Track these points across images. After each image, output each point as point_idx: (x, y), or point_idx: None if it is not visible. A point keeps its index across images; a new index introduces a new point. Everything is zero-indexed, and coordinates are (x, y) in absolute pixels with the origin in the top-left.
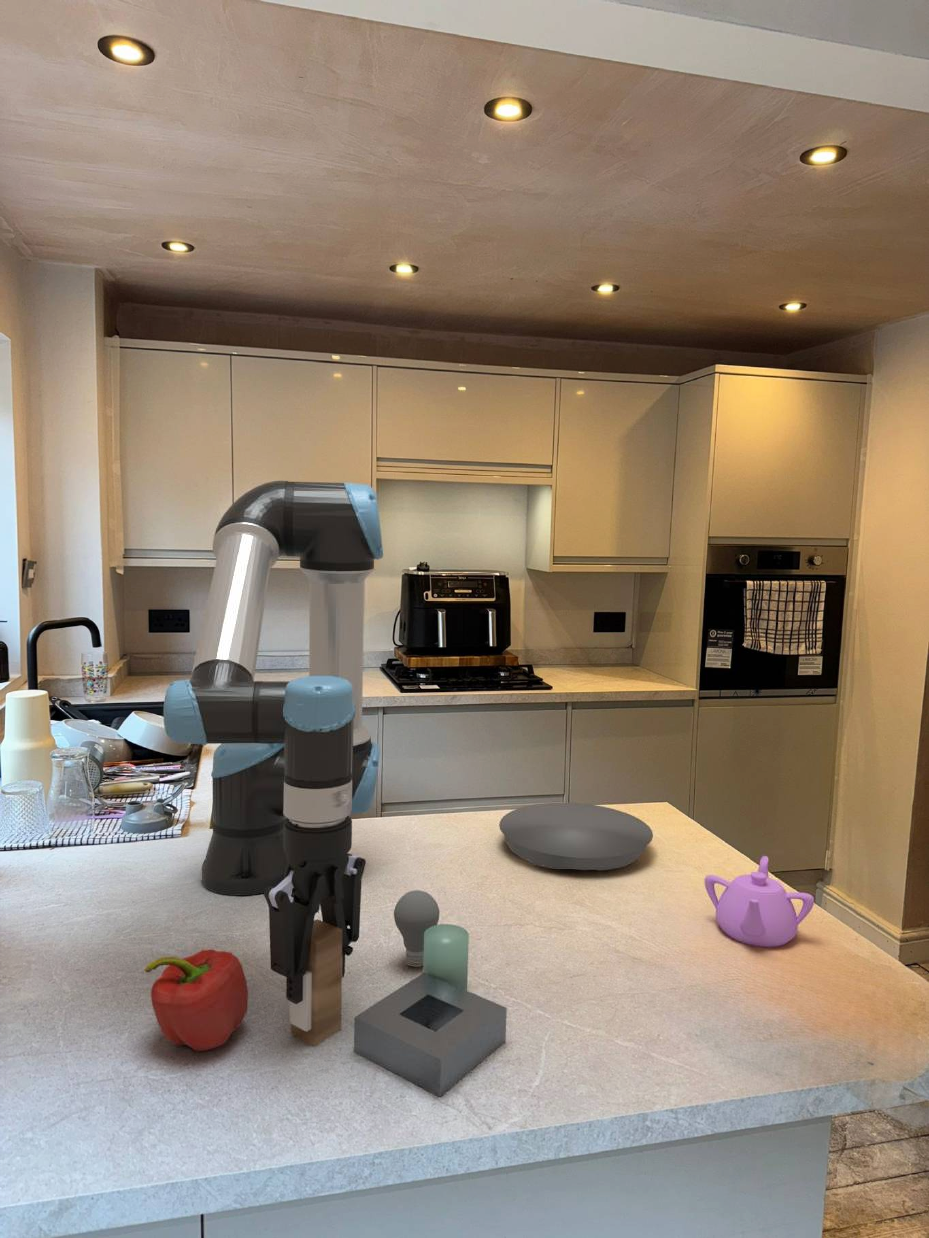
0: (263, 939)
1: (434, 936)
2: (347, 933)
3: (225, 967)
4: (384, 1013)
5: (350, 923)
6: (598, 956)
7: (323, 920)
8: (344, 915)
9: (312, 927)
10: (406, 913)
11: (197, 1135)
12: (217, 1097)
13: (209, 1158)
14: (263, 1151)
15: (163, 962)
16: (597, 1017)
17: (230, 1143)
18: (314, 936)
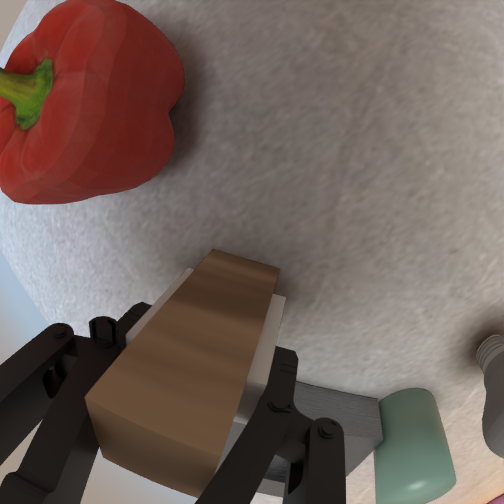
0: (486, 13)
1: (407, 490)
2: (293, 460)
3: (29, 175)
4: (237, 429)
5: (286, 494)
6: (486, 469)
7: (215, 473)
8: (293, 501)
9: (86, 478)
10: (502, 432)
11: (32, 253)
12: (64, 235)
13: (29, 281)
14: (57, 322)
15: None
16: None
17: (44, 290)
18: (120, 454)
